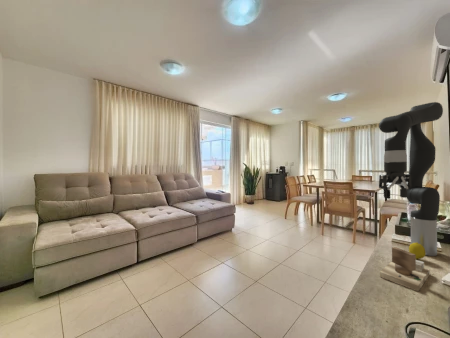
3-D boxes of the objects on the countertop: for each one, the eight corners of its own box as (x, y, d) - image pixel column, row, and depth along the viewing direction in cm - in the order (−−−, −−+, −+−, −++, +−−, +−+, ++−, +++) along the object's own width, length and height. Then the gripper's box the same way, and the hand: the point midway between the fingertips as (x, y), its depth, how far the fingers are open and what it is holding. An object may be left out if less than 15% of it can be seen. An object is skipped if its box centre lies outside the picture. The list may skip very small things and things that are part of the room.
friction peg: (389, 268, 78) (388, 247, 78) (398, 266, 79) (398, 246, 79) (412, 280, 70) (412, 257, 70) (423, 278, 71) (423, 256, 71)
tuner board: (394, 263, 86) (394, 253, 86) (429, 274, 77) (429, 263, 77) (379, 276, 76) (379, 265, 76) (418, 291, 67) (418, 278, 67)
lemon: (429, 262, 86) (428, 245, 86) (414, 261, 87) (414, 244, 87) (419, 256, 92) (419, 240, 91) (405, 256, 93) (405, 239, 93)
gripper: (399, 161, 89) (399, 195, 89) (373, 161, 86) (373, 197, 86) (418, 160, 81) (418, 198, 81) (390, 161, 79) (390, 200, 79)
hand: (395, 197), depth 84 cm, fingers open, 8 cm apart
